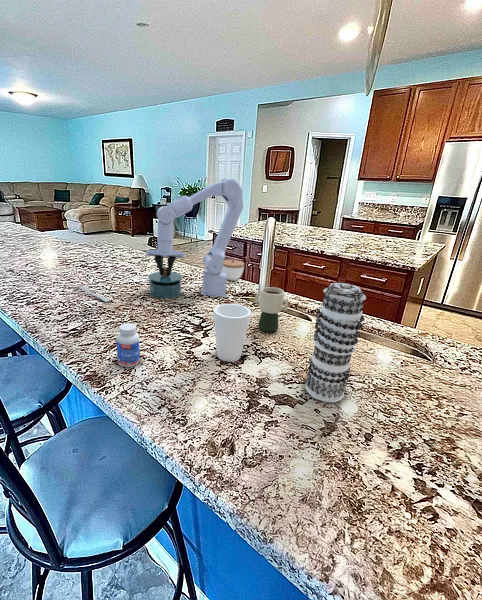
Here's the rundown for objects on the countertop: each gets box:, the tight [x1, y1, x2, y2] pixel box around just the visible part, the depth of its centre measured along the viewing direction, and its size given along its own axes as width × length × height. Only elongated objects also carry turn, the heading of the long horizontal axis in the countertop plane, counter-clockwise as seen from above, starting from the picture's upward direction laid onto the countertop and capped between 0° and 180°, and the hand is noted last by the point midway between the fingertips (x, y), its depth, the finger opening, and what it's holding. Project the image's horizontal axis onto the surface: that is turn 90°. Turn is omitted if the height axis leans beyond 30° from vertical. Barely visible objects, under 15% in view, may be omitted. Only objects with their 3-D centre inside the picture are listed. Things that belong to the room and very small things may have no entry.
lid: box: [147, 266, 183, 283], centre depth 124 cm, size 13×13×5 cm
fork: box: [75, 285, 110, 303], centre depth 122 cm, size 3×21×3 cm, turn 53°
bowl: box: [148, 279, 182, 299], centre depth 126 cm, size 12×12×6 cm
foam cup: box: [212, 303, 252, 363], centre depth 83 cm, size 10×9×13 cm
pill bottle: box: [116, 322, 140, 368], centre depth 79 cm, size 6×5×10 cm
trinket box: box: [222, 258, 245, 282], centre depth 149 cm, size 11×11×9 cm
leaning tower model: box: [304, 282, 367, 403], centre depth 69 cm, size 9×9×25 cm
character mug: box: [254, 286, 289, 333], centre depth 99 cm, size 11×7×13 cm, turn 54°
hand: (165, 275), depth 124 cm, fingers closed on lid, 2 cm apart
